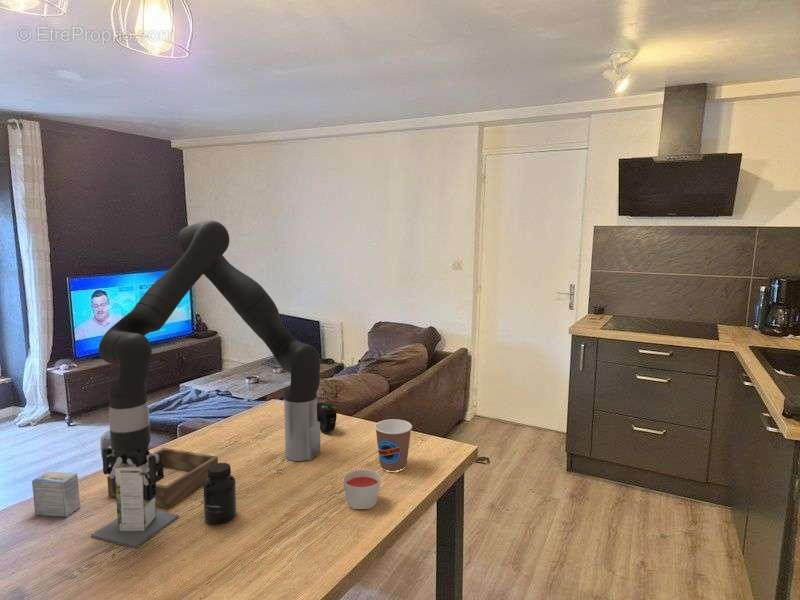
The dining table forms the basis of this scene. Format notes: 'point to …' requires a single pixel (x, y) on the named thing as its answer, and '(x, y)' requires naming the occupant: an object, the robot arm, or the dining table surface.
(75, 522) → the dining table surface
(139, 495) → the syrup box
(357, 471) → the candle
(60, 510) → the medicine box
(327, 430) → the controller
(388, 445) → the coffee cup
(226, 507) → the supplement bottle
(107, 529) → the mat
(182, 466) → the walnut crate
